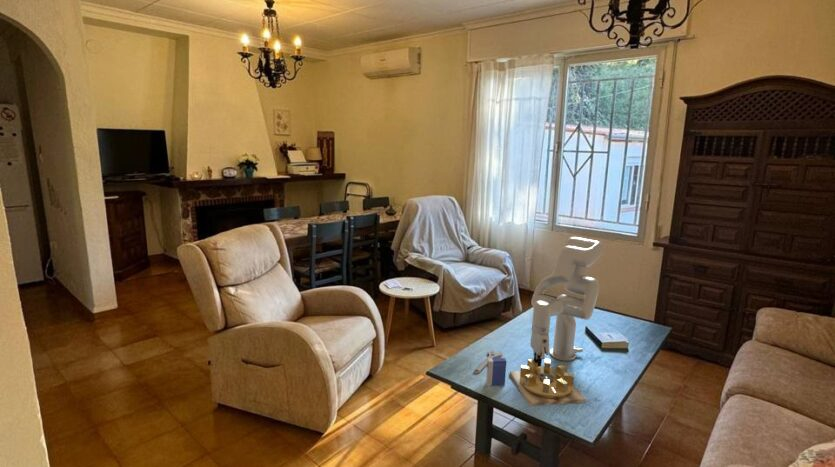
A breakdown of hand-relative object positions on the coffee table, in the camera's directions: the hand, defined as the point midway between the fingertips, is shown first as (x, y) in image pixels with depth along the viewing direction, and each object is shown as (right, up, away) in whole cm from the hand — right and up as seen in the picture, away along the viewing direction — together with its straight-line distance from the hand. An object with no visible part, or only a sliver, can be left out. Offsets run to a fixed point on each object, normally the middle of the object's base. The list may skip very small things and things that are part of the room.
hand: (537, 365), depth 199 cm
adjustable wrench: (-21, -3, +12) cm, 25 cm away
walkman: (-20, -6, -6) cm, 22 cm away
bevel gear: (+1, -5, -9) cm, 10 cm away
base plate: (+1, -7, -8) cm, 11 cm away
